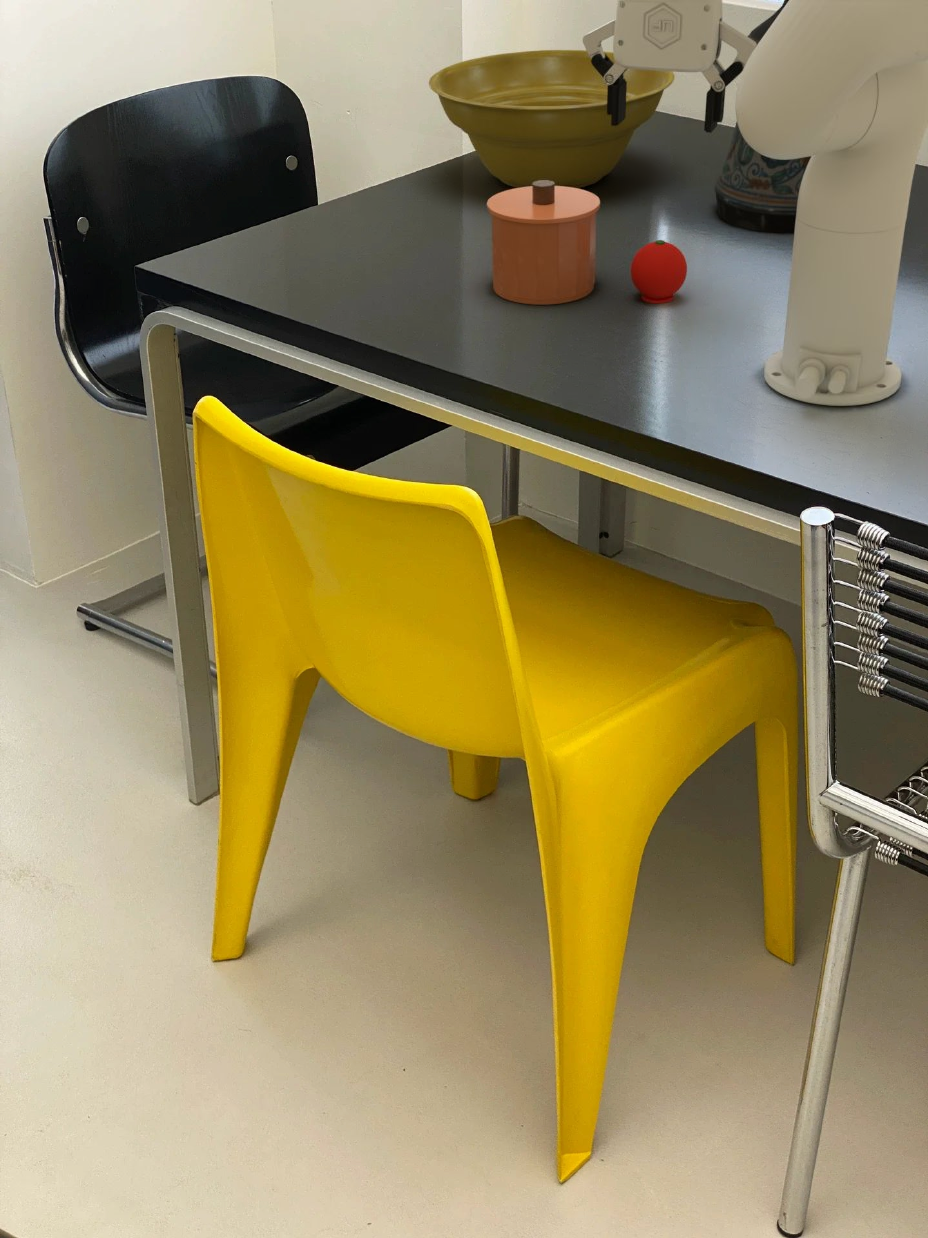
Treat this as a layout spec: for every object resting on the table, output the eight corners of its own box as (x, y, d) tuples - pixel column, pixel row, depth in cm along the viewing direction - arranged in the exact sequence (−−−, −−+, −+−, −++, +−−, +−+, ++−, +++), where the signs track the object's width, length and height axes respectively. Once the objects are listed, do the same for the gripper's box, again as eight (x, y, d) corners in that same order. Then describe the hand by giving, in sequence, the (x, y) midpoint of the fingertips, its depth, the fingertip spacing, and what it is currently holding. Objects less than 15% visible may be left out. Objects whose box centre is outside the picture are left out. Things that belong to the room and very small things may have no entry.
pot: (577, 308, 152) (578, 226, 147) (479, 299, 156) (477, 217, 151) (605, 274, 161) (607, 195, 156) (512, 265, 164) (511, 187, 159)
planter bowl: (568, 229, 175) (569, 116, 168) (384, 184, 194) (378, 81, 186) (716, 170, 194) (723, 67, 187) (536, 134, 213) (536, 40, 206)
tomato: (678, 310, 151) (681, 252, 148) (623, 304, 153) (625, 247, 149) (690, 290, 156) (694, 234, 152) (637, 285, 158) (639, 230, 154)
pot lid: (581, 233, 147) (582, 203, 145) (471, 224, 151) (470, 195, 149) (612, 199, 157) (613, 171, 155) (508, 191, 160) (507, 163, 159)
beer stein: (729, 189, 187) (743, -17, 173) (880, 201, 181) (907, -11, 167) (699, 227, 174) (713, 8, 160) (861, 241, 168) (889, 15, 154)
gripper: (575, -55, 135) (571, 129, 144) (756, -50, 130) (741, 141, 139) (596, -67, 141) (592, 111, 150) (771, -62, 135) (755, 122, 145)
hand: (664, 125), depth 145 cm, fingers open, 9 cm apart
